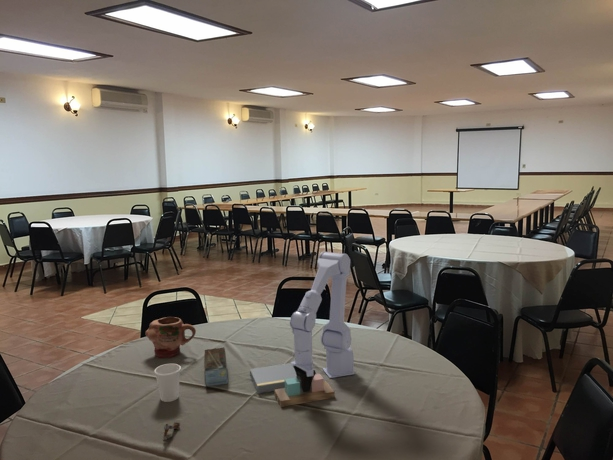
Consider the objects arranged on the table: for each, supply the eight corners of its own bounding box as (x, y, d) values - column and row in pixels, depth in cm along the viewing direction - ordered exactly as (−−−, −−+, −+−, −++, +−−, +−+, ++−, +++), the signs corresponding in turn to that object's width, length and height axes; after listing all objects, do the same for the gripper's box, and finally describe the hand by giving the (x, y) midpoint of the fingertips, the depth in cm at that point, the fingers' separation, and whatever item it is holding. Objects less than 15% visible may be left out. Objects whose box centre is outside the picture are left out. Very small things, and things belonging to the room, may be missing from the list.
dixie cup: (187, 393, 163) (185, 365, 161) (173, 405, 155) (171, 375, 154) (166, 390, 166) (164, 362, 164) (151, 401, 158) (148, 372, 156)
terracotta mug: (199, 346, 204) (197, 313, 202) (195, 357, 192) (193, 323, 190) (150, 348, 202) (147, 316, 200) (143, 360, 190) (140, 326, 188)
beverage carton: (204, 387, 168) (203, 369, 167) (204, 364, 186) (204, 347, 185) (228, 384, 169) (227, 366, 168) (226, 362, 188) (225, 345, 187)
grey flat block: (303, 367, 181) (303, 360, 180) (315, 383, 168) (315, 376, 167) (250, 375, 175) (249, 368, 175) (257, 393, 162) (257, 386, 161)
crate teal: (296, 388, 160) (296, 377, 160) (300, 394, 156) (299, 382, 156) (284, 390, 159) (284, 379, 158) (288, 396, 155) (287, 384, 155)
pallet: (326, 386, 166) (325, 368, 165) (334, 397, 158) (334, 378, 157) (274, 395, 160) (273, 376, 159) (280, 407, 153) (280, 387, 152)
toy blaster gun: (159, 441, 134) (161, 424, 135) (172, 437, 142) (174, 421, 143) (165, 442, 134) (167, 424, 135) (178, 438, 141) (180, 421, 142)
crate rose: (319, 384, 163) (319, 373, 162) (323, 390, 159) (323, 378, 158) (308, 386, 161) (308, 375, 161) (312, 392, 158) (311, 380, 157)
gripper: (285, 341, 162) (286, 380, 165) (297, 358, 149) (298, 400, 151) (305, 339, 165) (306, 377, 167) (319, 355, 151) (320, 396, 153)
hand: (304, 388), depth 159 cm, fingers closed on pallet, 4 cm apart
